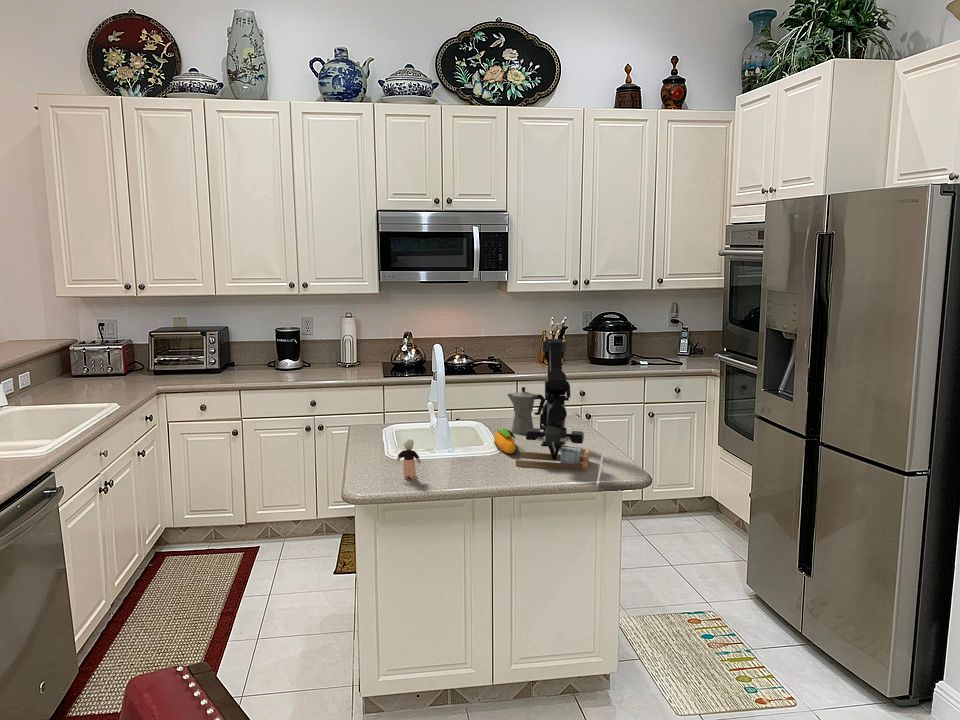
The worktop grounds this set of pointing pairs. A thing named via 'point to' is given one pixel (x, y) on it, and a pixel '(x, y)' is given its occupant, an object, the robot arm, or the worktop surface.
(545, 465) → the bay
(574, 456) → the block
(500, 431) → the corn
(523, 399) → the coffeepot
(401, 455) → the grandmother figurine
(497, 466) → the worktop surface
